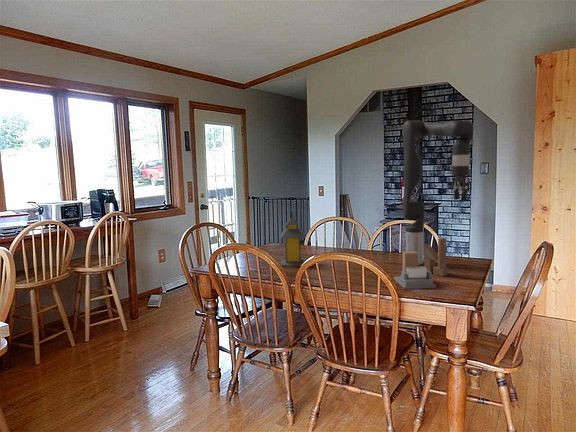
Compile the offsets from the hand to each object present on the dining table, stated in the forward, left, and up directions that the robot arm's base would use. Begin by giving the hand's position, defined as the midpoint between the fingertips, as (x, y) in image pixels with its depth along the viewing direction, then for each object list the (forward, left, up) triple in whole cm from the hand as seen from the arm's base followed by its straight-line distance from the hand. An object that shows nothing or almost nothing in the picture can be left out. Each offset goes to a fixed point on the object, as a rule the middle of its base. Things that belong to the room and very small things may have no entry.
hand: (460, 200), depth 205 cm
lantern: (-39, -77, -36) cm, 94 cm away
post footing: (+9, -24, -36) cm, 44 cm away
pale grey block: (+12, -24, -35) cm, 44 cm away
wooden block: (-6, -9, -36) cm, 38 cm away
